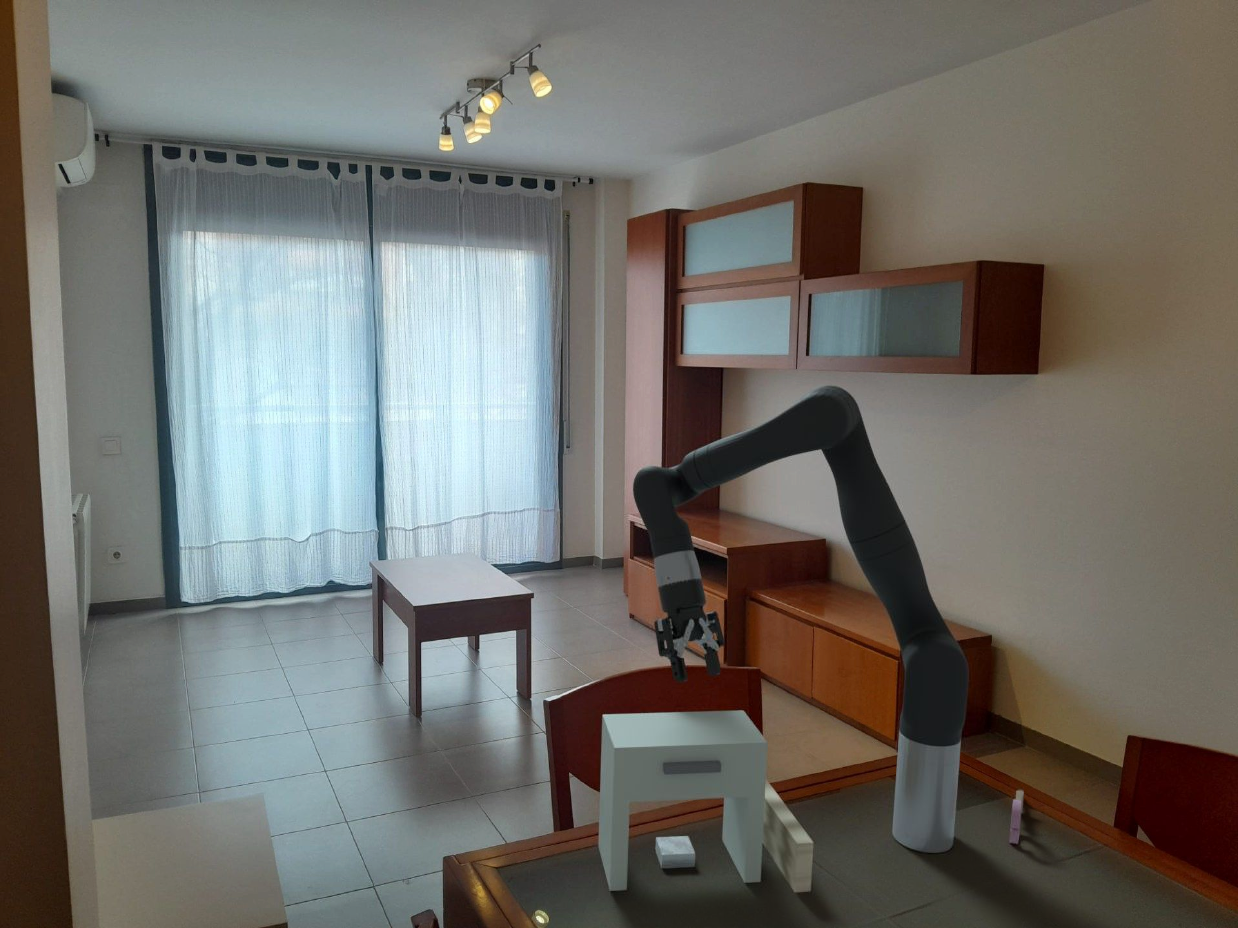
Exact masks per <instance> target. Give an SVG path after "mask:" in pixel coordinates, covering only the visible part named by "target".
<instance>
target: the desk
mask: <svg viewBox="0 0 1238 928" xmlns="http://www.w3.org/2000/svg"><path fill="white" fill-rule="evenodd" d="M601 721H602V722H601V748H600V749H601V753H600V780H599V781H600V785H599V786H600V787H599V789H600V790H599V813H598V814H599V815H598V816H599V819H598V820H599V821H598V822H599V823H598V850H599V854H600V858H601V863H602V866H603V869H604V873H605V877H606V881H607V885H608V889H609V890H608V891H609V892H611V891H612V892H613V891H616V892H617V891H627V888H628V865H629V864H628V863H629V862H628V858H629V837H630V836H629V832H630V831H629V830H630V829H629V827H630V803H643V802H665V801H688V800H708V799H723V817H722V834H721V835H722V839H721V840H722V842H723V844H724V846H725V848H726V849H727V852H728V854H729V856H730V857H731V860H732V862H733V864H734V865H735V867H736V869H737V871H738V873H739V875H740V878H741V879H742V881H743V883H744V884H746V883H761V881H762V880H761V879H762V862H763V861H762V859H763V858H762V857H763V823H764V804H765V785H766V780H767V763H768V744H769V743H768V741H767V740H766V738H765V737H764V735H762V733H761V732H760V730H759V729H758V728H757V727H756V726H757V725H755V724H754V722H753V721H752V720H751V719H750V717H749V716H748V715H747V713H746V712H745V711H744V710H740V709H739V710H738V709H737V710H712V711H711V710H708V711H707V710H706V711H680V712H679V711H675V712H674V711H673V712H648V713H647V712H645V713H644V712H641V713H639V712H638V713H611V714H606V713H605V714H602V717H601Z"/></svg>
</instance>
